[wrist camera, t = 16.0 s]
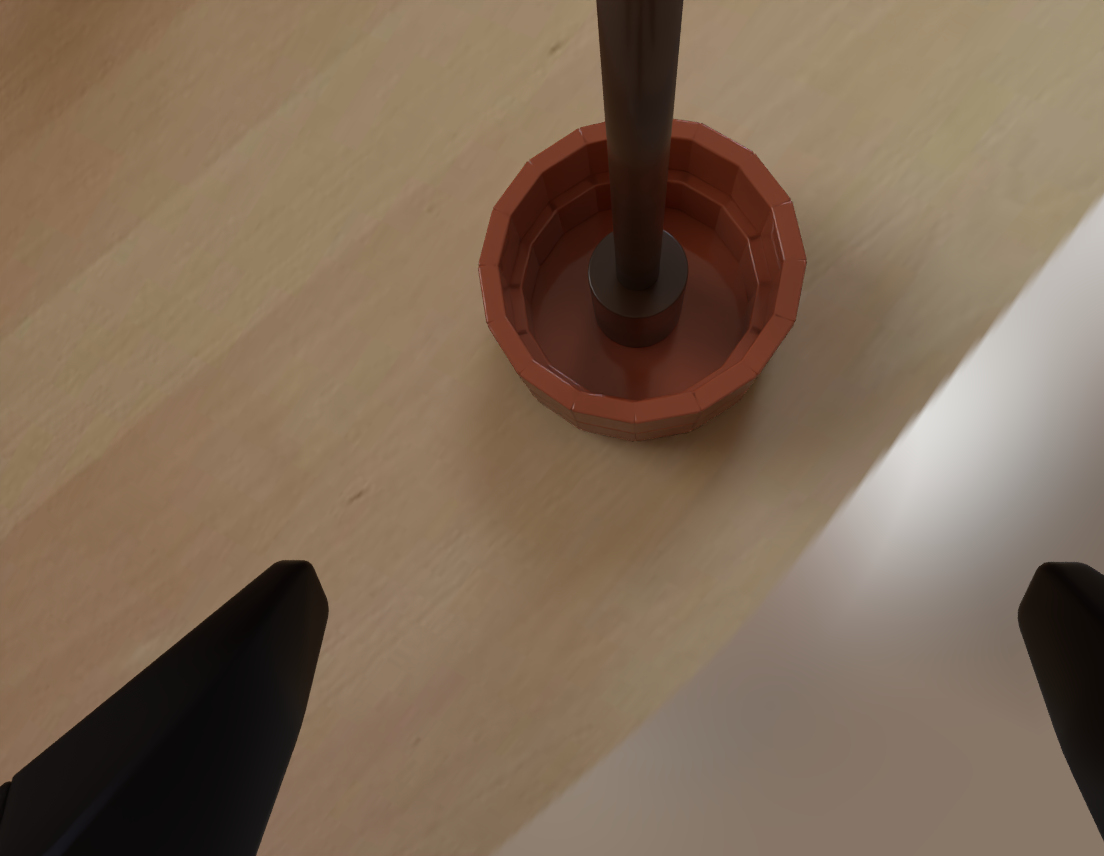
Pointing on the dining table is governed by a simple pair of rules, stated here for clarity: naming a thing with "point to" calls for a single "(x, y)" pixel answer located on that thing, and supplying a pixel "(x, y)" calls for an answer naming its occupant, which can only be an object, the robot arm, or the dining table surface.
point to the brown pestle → (638, 173)
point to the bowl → (709, 301)
